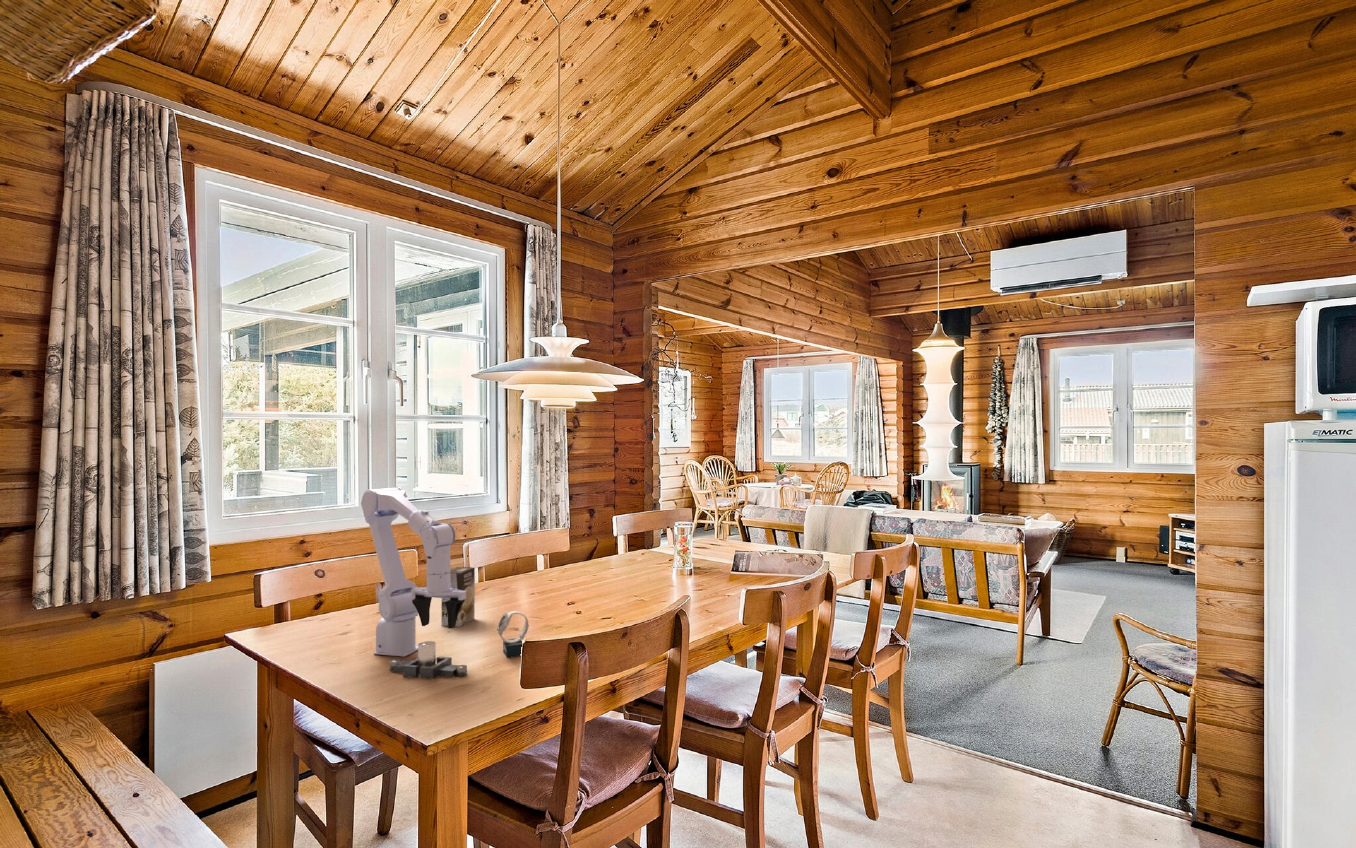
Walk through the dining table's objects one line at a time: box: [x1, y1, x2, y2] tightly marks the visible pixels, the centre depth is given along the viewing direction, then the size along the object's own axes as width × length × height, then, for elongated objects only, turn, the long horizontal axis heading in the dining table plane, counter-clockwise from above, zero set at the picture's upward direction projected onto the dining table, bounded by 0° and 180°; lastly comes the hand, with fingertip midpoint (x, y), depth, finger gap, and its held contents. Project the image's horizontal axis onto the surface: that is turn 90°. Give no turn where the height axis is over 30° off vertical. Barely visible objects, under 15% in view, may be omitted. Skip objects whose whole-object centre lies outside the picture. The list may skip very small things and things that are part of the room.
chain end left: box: [389, 657, 420, 678], centre depth 170 cm, size 10×8×2 cm
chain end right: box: [419, 656, 468, 680], centre depth 167 cm, size 10×8×2 cm
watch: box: [496, 610, 530, 659], centre depth 182 cm, size 6×8×11 cm
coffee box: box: [440, 566, 476, 627], centre depth 211 cm, size 9×6×16 cm
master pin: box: [417, 640, 437, 676], centre depth 168 cm, size 4×4×7 cm
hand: (438, 626), depth 175 cm, fingers open, 7 cm apart
